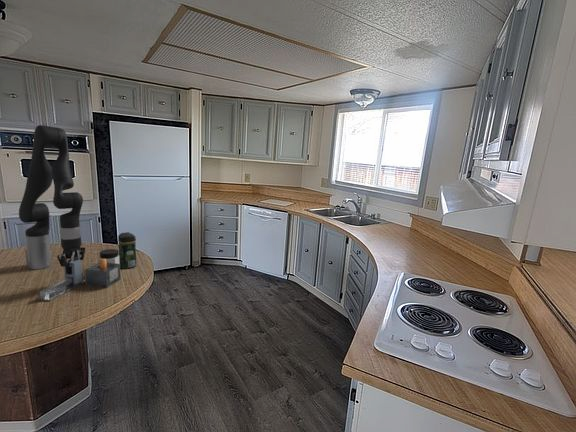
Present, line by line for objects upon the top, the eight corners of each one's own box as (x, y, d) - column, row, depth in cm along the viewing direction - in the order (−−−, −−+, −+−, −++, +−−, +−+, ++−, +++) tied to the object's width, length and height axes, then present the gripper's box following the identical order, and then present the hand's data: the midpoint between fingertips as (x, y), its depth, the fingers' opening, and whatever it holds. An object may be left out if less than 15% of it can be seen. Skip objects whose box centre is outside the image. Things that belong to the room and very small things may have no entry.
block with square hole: (86, 285, 138) (85, 269, 137) (101, 277, 148) (100, 262, 146) (107, 287, 138) (106, 271, 136) (120, 279, 147) (120, 264, 146)
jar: (99, 278, 147) (98, 254, 145) (99, 272, 154) (98, 250, 151) (120, 275, 152) (119, 252, 150) (119, 269, 159) (118, 248, 156)
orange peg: (98, 276, 141) (98, 260, 139) (102, 274, 144) (102, 258, 142) (104, 276, 141) (103, 260, 139) (108, 274, 143) (107, 258, 142)
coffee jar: (117, 264, 165) (116, 232, 162) (133, 262, 171) (132, 230, 167) (122, 270, 158) (121, 236, 155) (138, 267, 164) (137, 234, 160)
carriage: (65, 283, 137) (63, 262, 135) (72, 280, 141) (70, 259, 139) (75, 284, 136) (74, 263, 134) (82, 281, 140) (81, 260, 138)
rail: (36, 299, 123) (35, 290, 122) (75, 279, 143) (75, 271, 142) (49, 301, 122) (48, 292, 121) (87, 281, 143) (86, 273, 142)
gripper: (75, 231, 141) (77, 266, 145) (49, 239, 127) (52, 277, 131) (90, 233, 141) (92, 267, 144) (65, 241, 127) (68, 279, 130)
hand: (73, 272), depth 137 cm, fingers closed on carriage, 4 cm apart
